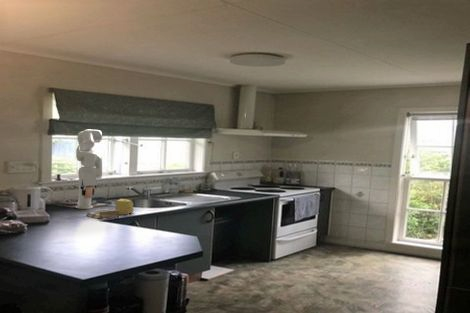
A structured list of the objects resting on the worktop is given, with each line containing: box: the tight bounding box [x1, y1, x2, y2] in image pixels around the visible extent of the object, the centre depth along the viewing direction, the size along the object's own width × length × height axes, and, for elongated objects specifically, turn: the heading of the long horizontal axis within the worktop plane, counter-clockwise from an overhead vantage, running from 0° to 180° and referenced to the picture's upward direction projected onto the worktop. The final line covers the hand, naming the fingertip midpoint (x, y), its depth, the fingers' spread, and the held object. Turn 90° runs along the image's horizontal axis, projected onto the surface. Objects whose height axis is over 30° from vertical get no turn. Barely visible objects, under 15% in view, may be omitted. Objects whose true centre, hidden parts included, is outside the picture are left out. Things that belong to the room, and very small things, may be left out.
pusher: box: [95, 208, 111, 215], centre depth 318 cm, size 1×11×4 cm, turn 141°
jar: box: [83, 186, 93, 199], centre depth 321 cm, size 6×6×8 cm
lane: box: [86, 209, 120, 220], centre depth 318 cm, size 16×15×5 cm
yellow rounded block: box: [115, 198, 134, 215], centre depth 335 cm, size 10×11×10 cm
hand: (87, 194), depth 321 cm, fingers closed on jar, 6 cm apart
